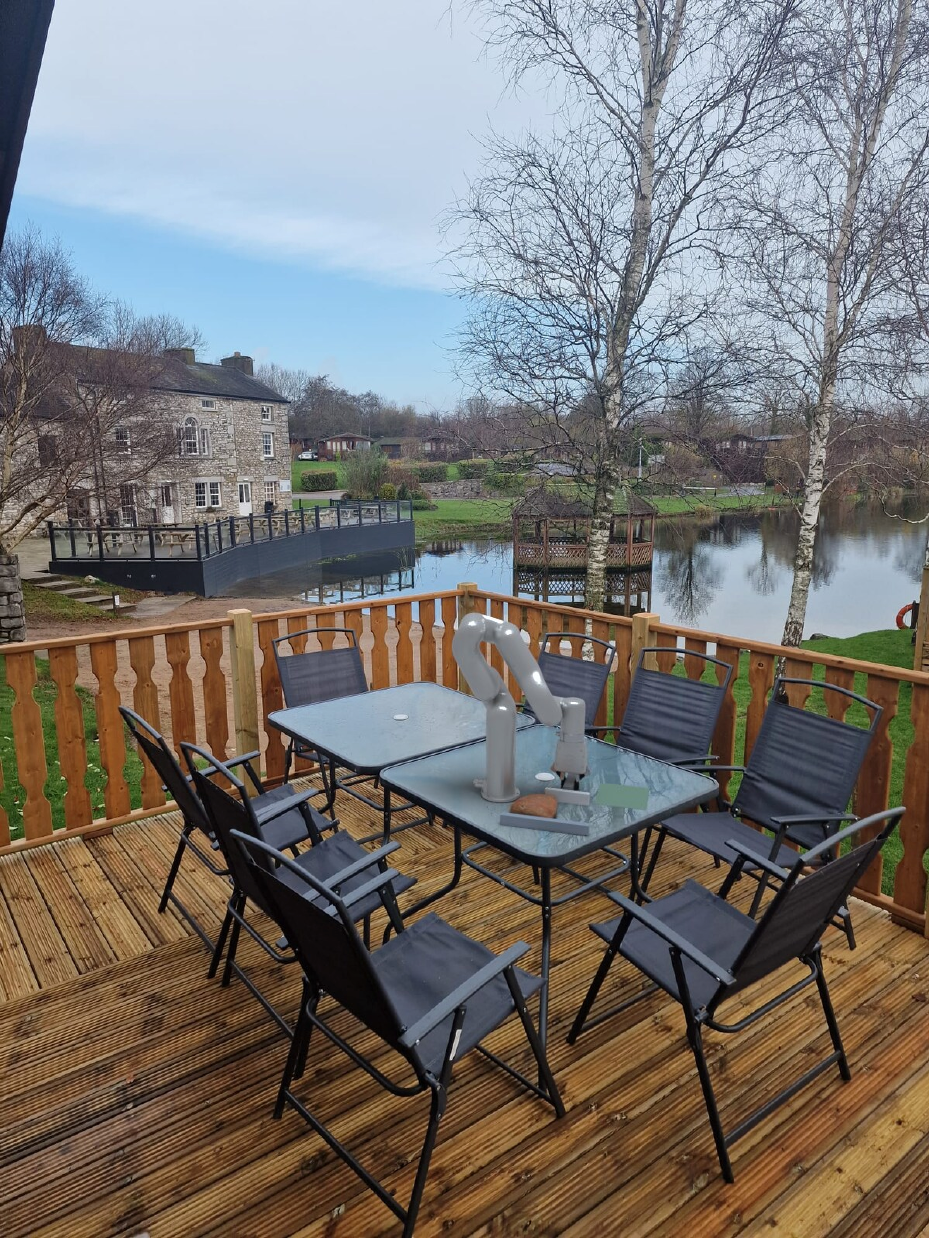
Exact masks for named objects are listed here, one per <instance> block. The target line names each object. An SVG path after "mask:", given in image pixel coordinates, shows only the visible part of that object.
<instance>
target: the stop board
mask: <svg viewBox="0 0 929 1238" xmlns="http://www.w3.org/2000/svg"><path fill="white" fill-rule="evenodd" d="M499 824H500V825H503V826H508V827H509V826H510V827H517V828H525V829H532V830H540V831H548V832H555V833H562V834H569V835H570V834H571V835H577V836H578V835H579V836H584V835H588V836H589V835H590V822H581V821H575V820H574V821H573V820H566V819H558V818H553V819H552V818H544V817H536V816H528V815H520V814H513V813H510V812H503V811H501V813H500V814H499Z"/></svg>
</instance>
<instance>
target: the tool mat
mask: <svg viewBox="0 0 929 1238" xmlns="http://www.w3.org/2000/svg"><path fill="white" fill-rule="evenodd" d="M649 794H650V788H649V787H641V786H633V785H623V784H615V783H608V782H607V783H606V782H600V783H599V787H598V790H597V793H596V796H595V800H594V802H593V803H594V805H601V806H607V807H616V808H625V809H633V810H642V811H647V807H648V801H649V796H650V795H649Z"/></svg>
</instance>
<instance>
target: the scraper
mask: <svg viewBox="0 0 929 1238" xmlns="http://www.w3.org/2000/svg"><path fill="white" fill-rule="evenodd" d="M575 778H576V775H575V773H567V776H566V781H565V783H564V785H563V788H556V787H548V786H546V787H545V788H544V794H546V795H551V796H555V797H556V800H557V803H561V804H570V805H576V806H577V805H578V806H587V807H590V803H591V802H590V800H591V792H586V791H579V790H577V791H574V781H575Z"/></svg>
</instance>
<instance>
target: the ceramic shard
mask: <svg viewBox="0 0 929 1238" xmlns="http://www.w3.org/2000/svg"><path fill="white" fill-rule="evenodd" d="M557 808H558V802H557V800H556V797H555V796H551V795H546V794H545V793H532V794H528V795H525V796H523V797H521V798H520V797H519V798H518V799H516V800H514V801H513V803H512V804H510V807H509V813H513V814H520V815H528V816H536V817H544V818H552V819H555V817H556V815H557Z"/></svg>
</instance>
